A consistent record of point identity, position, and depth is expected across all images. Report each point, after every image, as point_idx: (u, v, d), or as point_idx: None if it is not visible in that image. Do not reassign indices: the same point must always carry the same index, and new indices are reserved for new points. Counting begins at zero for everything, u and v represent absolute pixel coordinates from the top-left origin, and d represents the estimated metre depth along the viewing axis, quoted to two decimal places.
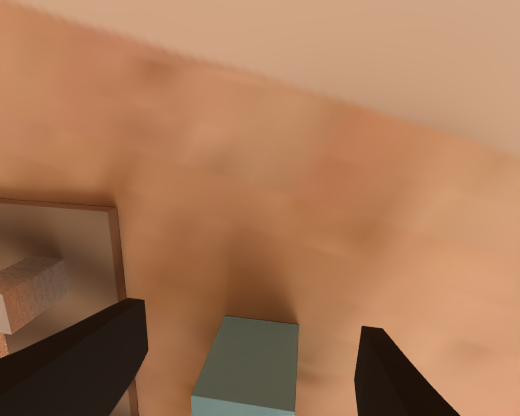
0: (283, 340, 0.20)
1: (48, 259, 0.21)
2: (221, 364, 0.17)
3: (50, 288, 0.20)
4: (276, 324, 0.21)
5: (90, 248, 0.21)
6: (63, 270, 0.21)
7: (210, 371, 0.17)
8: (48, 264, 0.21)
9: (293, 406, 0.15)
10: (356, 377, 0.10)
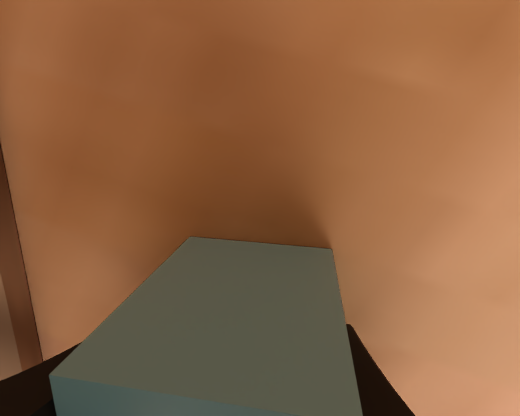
0: (305, 269, 0.09)
1: None
2: (161, 306, 0.07)
3: None
4: (288, 248, 0.11)
5: None
6: None
7: (129, 319, 0.07)
8: None
9: (356, 407, 0.05)
10: None
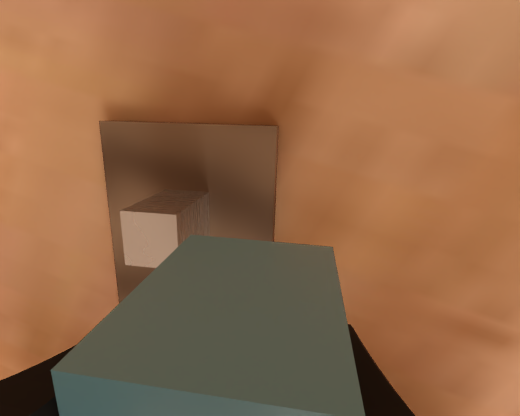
0: (306, 266, 0.09)
1: (190, 191, 0.17)
2: (162, 303, 0.07)
3: (201, 223, 0.16)
4: (288, 245, 0.11)
5: (246, 176, 0.17)
6: (208, 205, 0.17)
7: (130, 315, 0.07)
8: (196, 195, 0.17)
9: (358, 402, 0.05)
10: None
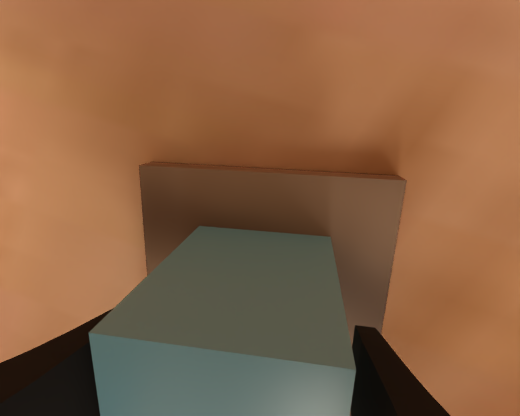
0: (305, 253, 0.10)
1: None
2: (178, 282, 0.08)
3: None
4: (289, 235, 0.12)
5: (351, 247, 0.12)
6: None
7: (151, 292, 0.08)
8: None
9: (349, 357, 0.06)
10: None
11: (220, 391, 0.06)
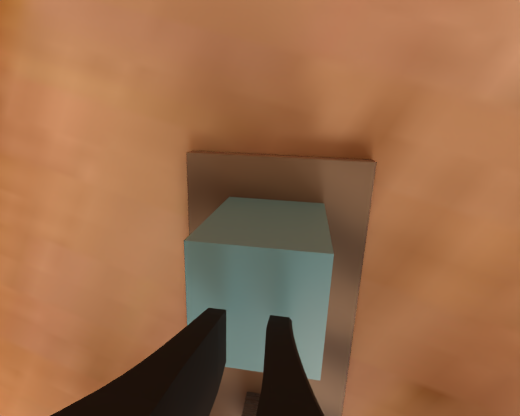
0: (306, 211, 0.15)
1: None
2: (226, 222, 0.13)
3: None
4: (295, 202, 0.16)
5: (339, 211, 0.17)
6: None
7: (211, 226, 0.12)
8: None
9: (330, 250, 0.11)
10: None
11: (258, 272, 0.11)
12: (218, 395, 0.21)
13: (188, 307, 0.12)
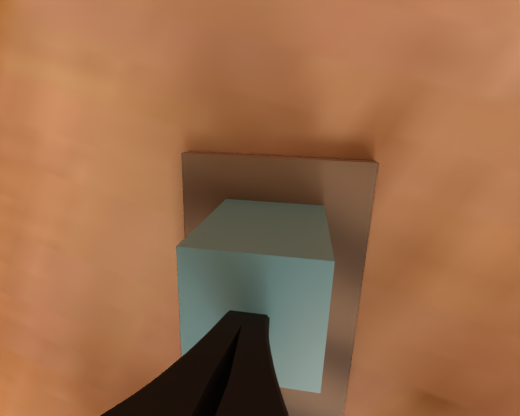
0: (306, 214, 0.14)
1: None
2: (222, 226, 0.12)
3: None
4: (294, 204, 0.16)
5: (339, 213, 0.16)
6: None
7: (206, 231, 0.12)
8: None
9: (331, 257, 0.10)
10: None
11: (255, 280, 0.10)
12: None
13: (181, 316, 0.11)
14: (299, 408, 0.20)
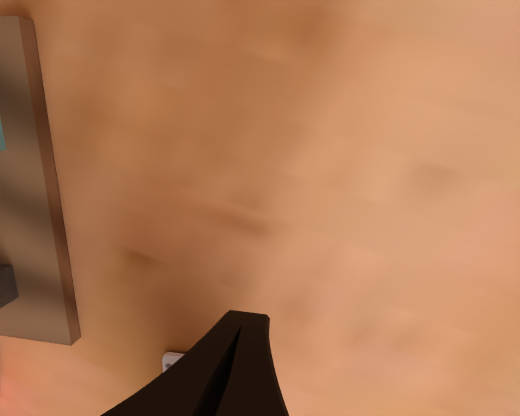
0: None
1: None
2: None
3: None
4: None
5: (2, 67, 0.18)
6: None
7: None
8: None
9: None
10: None
11: None
12: None
13: None
14: (24, 267, 0.22)
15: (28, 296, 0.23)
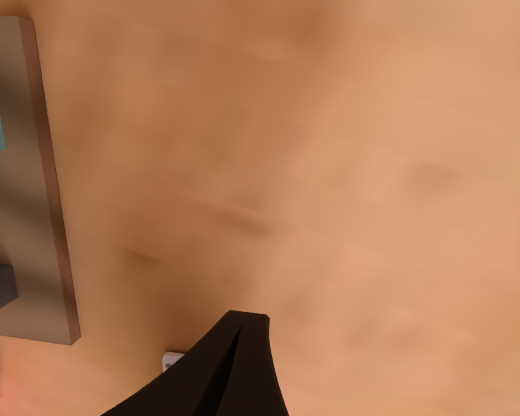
0: None
1: None
2: None
3: None
4: None
5: (2, 67, 0.18)
6: None
7: None
8: None
9: None
10: None
11: None
12: None
13: None
14: (24, 267, 0.22)
15: (28, 296, 0.23)
